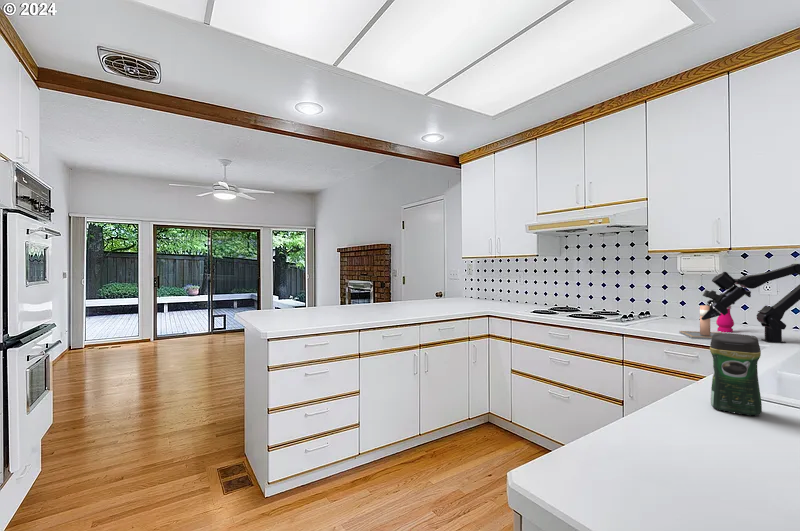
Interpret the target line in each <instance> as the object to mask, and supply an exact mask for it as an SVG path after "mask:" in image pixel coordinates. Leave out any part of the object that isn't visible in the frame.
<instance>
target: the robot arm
mask: <svg viewBox="0 0 800 531" xmlns="http://www.w3.org/2000/svg"><path fill="white" fill-rule="evenodd" d="M795 274H796V275H799V276H800V263H791V264H790V265H787V266H784V267H779V268H776V269H772V270H769V271H765V272H763V273H757V274H756V273H755V274H750V275H742V276H740V278H734V277H732V276H731V275H730V274H729V273H728V272H727V271H723V272H722V273H719V274H717V275H716V276H714V277H713V278H712V280H711V282H712V283H714V284H715V285H716V286H717V287H719V289H721V290H725V291H724V292H723V293H720V294H717V291H715V290H714V289H713V290H708V289H705V291H704V292H703V294H702V296H703V297H704V298H708V299H709V300H707V301H706V303H707V304H706V305H709V310H708V312H707V313H706V314H705V315H704V316H703V317H702V318H701V319H702V320H706V319H709V318H710V319H712V318H716V317H717V318H718V317H719V316H720V315H721V314H720V313H722V314H723V315H726V314H727V313H728V310H727V308H728V307H729V306H731V307H732V305H735V304H736V302H737V301H739V300H741V298H743V297H744V296H746V297H747V298H751V297H752V296H751V295H752V294H751V293H752V291H750V290H753V289H756V288H759V287H761V286H763V285H764V284H766V283H768V282H770V281H774V280H777V279H781V278H785V277H788V276H792V275H795ZM747 289H749V290H747ZM799 302H800V283H799V284H798V285H797V286H795V288H793V289H792V290H791V291H790V292H788V293H787V294H786V295H784V297H783V298H780V300H778V301H777V302H776V303H775V304H773V305H772V306H770V305H764V306H763V307H762V308H761V309H760V310H757V313H756V320H757V321H758V322H759V323H760V325H761V327H763V328H764V338H760V341H764V342H766V343H780V344H782V343H784V344H786V343H787V342H786V341H784V340H783V339H782V338H783V337H782V336H783V333H782V332H783V331H784V330H786V327H787V324H786V323H785V322H784V321H782V319H783V318H784V315H785V313H786V312H787V311H788V310H789V309H790V308H792V307H793V306H794V305H795V304H797V303H799ZM782 330H783V331H782Z"/></svg>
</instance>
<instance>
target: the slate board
mask: <svg viewBox="0 0 800 531" xmlns="http://www.w3.org/2000/svg"><path fill="white" fill-rule="evenodd" d="M678 333H679V334H681V335H683V336H686V337H687V338H689V339H692V340H693V339H695V340H711V339H712V335H713V334H715V333H722V332H719V331H716V332H715V331H710V335H709V336H707V335H700V331H697V330H696V331H693V330H692V331H690V330H679V332H678Z"/></svg>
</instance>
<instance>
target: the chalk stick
mask: <svg viewBox="0 0 800 531" xmlns="http://www.w3.org/2000/svg"><path fill="white" fill-rule="evenodd" d="M708 310H709V304H708V305H707V304H706V305H705V304H701V305H700V304H699V332H700V335H707V336H709V335H710V332H711V318H709V319H706V320H702V319H701V318H702V317H703V316H704V315H705V314H706V313H707V312H708Z"/></svg>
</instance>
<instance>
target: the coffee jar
mask: <svg viewBox="0 0 800 531" xmlns="http://www.w3.org/2000/svg"><path fill="white" fill-rule="evenodd" d="M709 351H710V354H711V356H712V364H713V365H712V379H711V388H710V389H711V390H710V406H712V407H713V408H714V409H716V408H717V409H716V410H718V409H720V410H719V411H721V410H724V411H723V412H725V411H729V412H728V413H730V412H735V413H740V414H739V415H742V414H747V415H746V416H751V415H755V416H758V415H761V414H762V413H763V412H762V411H763V409H762V408H763V407H762V405H763V404H762V396H761V391H760V385H759V384H760V382H759V375H758V373H759V372H758V362H759V360H760V358H761V356H762V354H761V353H762V350H761V346H760V342H759V339H758V337H757V336H755V335H749V334H741V333H732V332H731V333H728V332H721V333H715V334H713V335H712V339H710V345H709ZM735 413H734V414H735Z"/></svg>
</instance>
